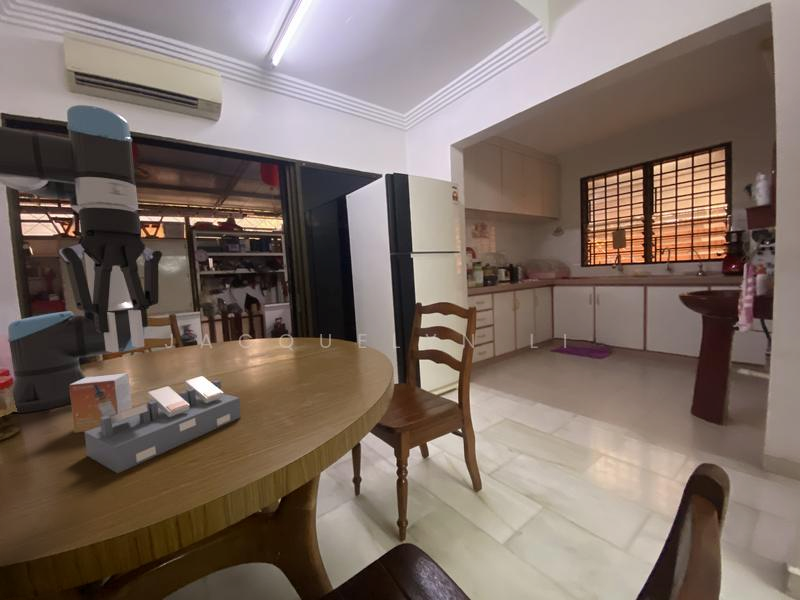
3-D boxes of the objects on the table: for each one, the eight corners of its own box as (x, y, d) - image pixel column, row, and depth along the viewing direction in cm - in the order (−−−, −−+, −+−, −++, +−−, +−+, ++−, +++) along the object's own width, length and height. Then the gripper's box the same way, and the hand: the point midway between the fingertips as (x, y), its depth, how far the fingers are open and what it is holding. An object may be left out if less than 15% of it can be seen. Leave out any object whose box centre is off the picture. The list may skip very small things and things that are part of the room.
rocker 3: (184, 385, 70) (185, 380, 70) (201, 380, 73) (202, 375, 73) (206, 403, 67) (206, 397, 67) (222, 397, 70) (223, 391, 70)
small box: (73, 434, 66) (67, 384, 65) (91, 422, 72) (85, 376, 71) (119, 427, 68) (114, 379, 67) (133, 416, 74) (128, 372, 73)
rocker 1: (105, 426, 58) (103, 418, 58) (129, 417, 61) (127, 410, 61) (123, 419, 54) (121, 411, 54) (147, 410, 57) (145, 403, 57)
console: (87, 455, 58) (81, 414, 57) (208, 408, 77) (205, 376, 76) (118, 473, 52) (112, 427, 51) (241, 417, 71) (238, 383, 70)
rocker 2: (147, 397, 64) (148, 391, 64) (167, 391, 67) (168, 385, 67) (169, 417, 61) (169, 411, 60) (189, 409, 64) (189, 403, 64)
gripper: (48, 198, 44) (70, 363, 46) (174, 214, 58) (187, 340, 60) (30, 205, 48) (51, 358, 50) (153, 218, 62) (166, 338, 64)
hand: (125, 348), depth 55 cm, fingers open, 3 cm apart
